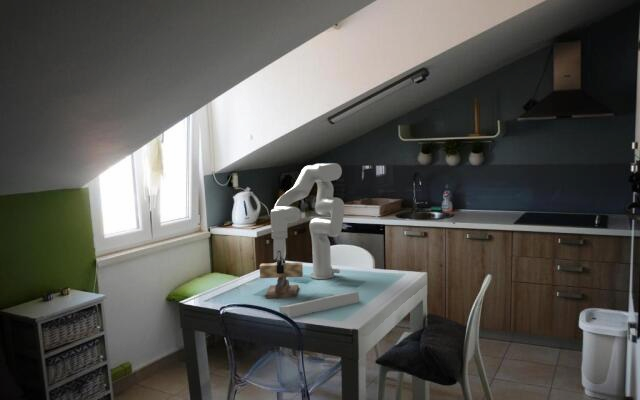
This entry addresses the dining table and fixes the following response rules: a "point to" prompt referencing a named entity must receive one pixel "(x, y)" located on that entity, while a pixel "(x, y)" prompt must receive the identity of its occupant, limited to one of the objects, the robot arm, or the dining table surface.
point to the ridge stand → (282, 289)
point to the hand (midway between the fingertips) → (281, 271)
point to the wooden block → (289, 270)
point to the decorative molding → (320, 304)
